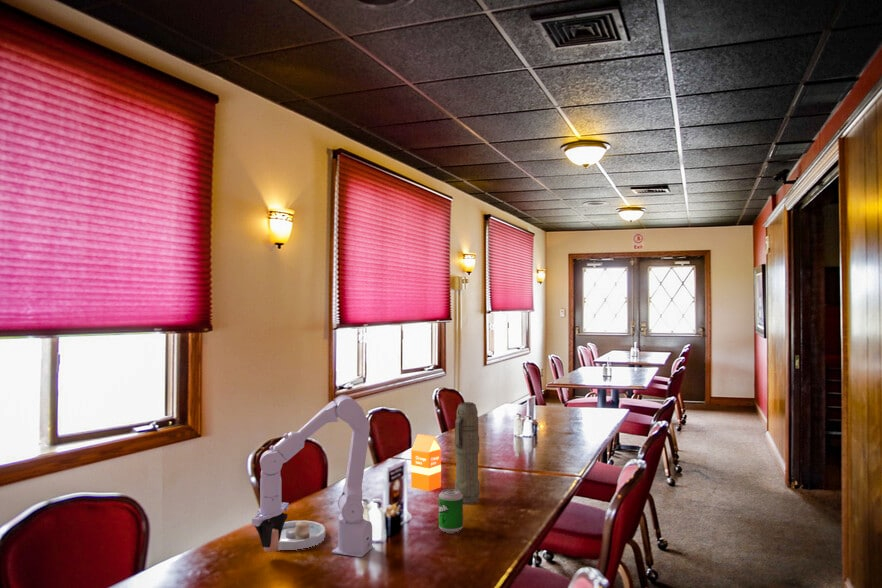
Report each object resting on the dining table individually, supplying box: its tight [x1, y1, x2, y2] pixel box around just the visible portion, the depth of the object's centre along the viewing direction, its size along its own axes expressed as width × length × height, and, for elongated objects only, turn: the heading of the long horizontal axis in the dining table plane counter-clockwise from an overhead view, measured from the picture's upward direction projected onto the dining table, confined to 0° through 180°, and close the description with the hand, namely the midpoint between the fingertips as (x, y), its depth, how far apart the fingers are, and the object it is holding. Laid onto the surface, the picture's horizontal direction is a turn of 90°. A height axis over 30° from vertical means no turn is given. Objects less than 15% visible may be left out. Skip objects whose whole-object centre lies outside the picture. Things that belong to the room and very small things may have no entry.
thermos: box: [454, 401, 481, 505], centre depth 228 cm, size 9×12×35 cm
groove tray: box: [277, 519, 326, 551], centre depth 190 cm, size 18×18×2 cm
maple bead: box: [296, 520, 310, 540], centre depth 186 cm, size 4×4×5 cm
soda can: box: [438, 488, 464, 534], centre depth 198 cm, size 8×8×12 cm
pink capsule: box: [263, 528, 279, 553], centre depth 176 cm, size 4×4×5 cm
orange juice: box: [410, 433, 442, 492], centre depth 245 cm, size 8×9×20 cm
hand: (271, 543), depth 176 cm, fingers closed on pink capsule, 4 cm apart
